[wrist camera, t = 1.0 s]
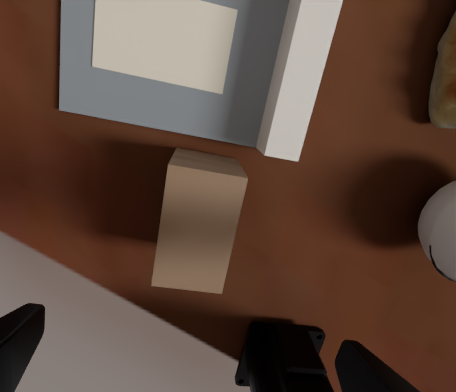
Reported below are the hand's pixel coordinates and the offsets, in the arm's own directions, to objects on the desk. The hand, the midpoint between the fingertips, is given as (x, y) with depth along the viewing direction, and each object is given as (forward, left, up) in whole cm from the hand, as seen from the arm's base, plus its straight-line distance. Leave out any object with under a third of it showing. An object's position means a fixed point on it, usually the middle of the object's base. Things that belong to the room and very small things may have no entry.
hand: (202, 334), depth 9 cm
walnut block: (0, 0, -12) cm, 12 cm away
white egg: (+1, -19, -12) cm, 22 cm away
